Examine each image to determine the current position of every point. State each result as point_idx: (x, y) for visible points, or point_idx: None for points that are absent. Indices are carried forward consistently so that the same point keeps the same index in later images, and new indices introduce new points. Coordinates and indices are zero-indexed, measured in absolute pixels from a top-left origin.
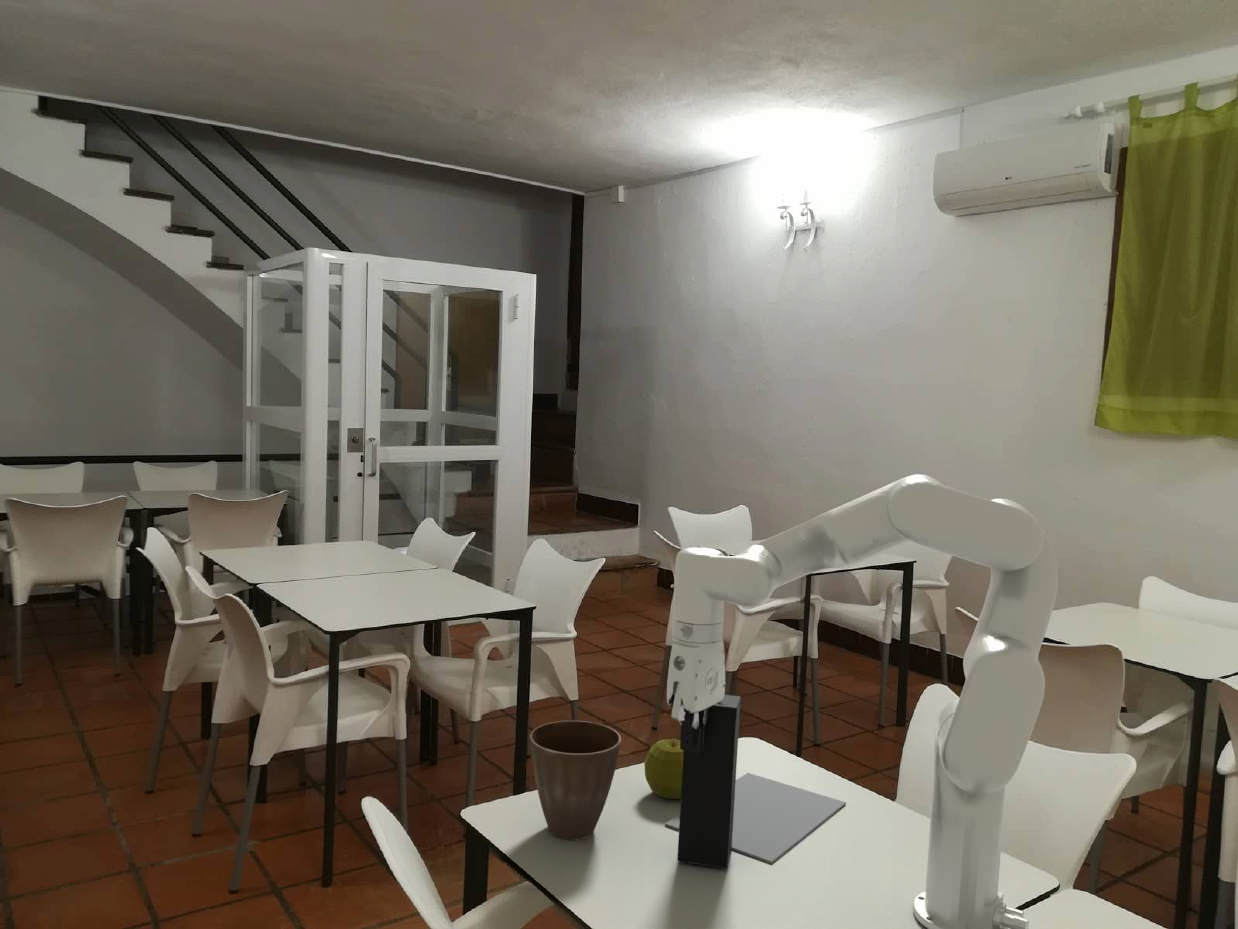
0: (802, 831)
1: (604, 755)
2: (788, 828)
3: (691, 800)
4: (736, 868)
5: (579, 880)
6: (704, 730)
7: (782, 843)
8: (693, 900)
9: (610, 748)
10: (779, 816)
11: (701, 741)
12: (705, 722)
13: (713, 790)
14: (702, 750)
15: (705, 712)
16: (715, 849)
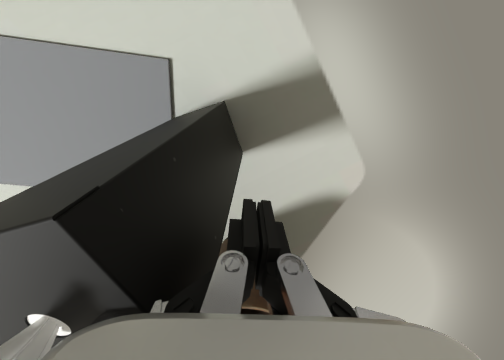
0: (57, 52)
1: (257, 302)
2: (67, 75)
3: (230, 171)
4: (207, 95)
5: (311, 206)
6: (244, 234)
7: (113, 65)
8: (296, 107)
9: (245, 307)
10: (48, 99)
11: (253, 216)
12: (225, 255)
13: (214, 148)
14: (247, 199)
15: (228, 293)
16: (226, 119)
